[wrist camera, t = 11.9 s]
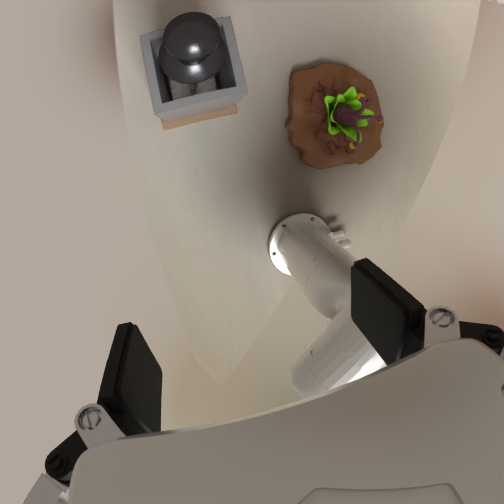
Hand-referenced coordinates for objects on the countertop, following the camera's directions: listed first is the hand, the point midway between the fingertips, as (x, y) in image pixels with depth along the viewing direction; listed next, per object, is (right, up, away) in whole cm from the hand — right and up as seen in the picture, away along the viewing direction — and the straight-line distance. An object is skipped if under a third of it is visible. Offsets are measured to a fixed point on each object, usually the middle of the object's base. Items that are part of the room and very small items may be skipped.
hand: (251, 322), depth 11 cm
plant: (+15, +28, +34) cm, 47 cm away
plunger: (-9, +29, +27) cm, 40 cm away
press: (-9, +29, +28) cm, 42 cm away
